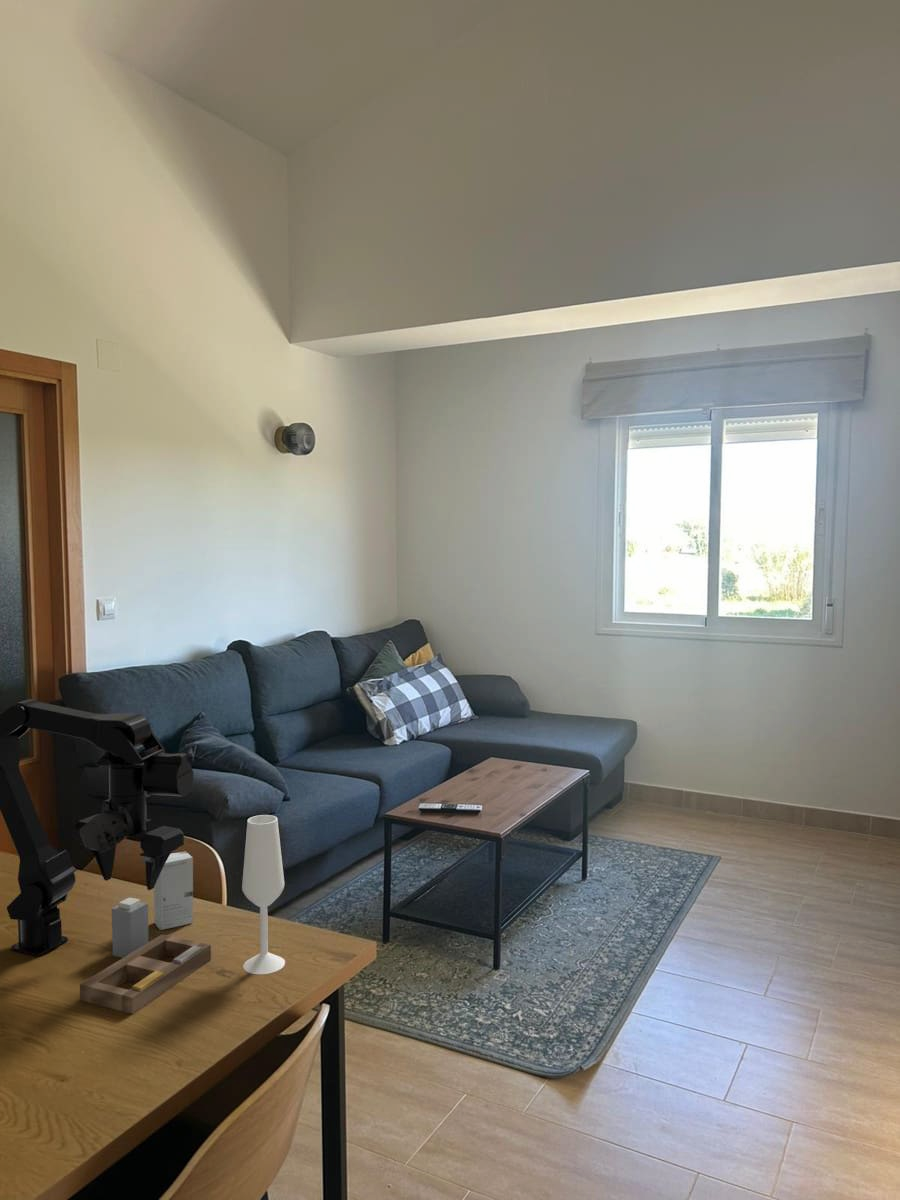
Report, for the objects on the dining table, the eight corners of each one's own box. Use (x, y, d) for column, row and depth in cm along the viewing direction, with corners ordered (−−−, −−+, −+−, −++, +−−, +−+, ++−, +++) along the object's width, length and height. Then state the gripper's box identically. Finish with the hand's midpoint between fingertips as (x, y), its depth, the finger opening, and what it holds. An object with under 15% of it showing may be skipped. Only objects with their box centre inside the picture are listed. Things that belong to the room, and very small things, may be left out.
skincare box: (160, 931, 154) (158, 864, 153) (153, 922, 158) (151, 856, 157) (194, 923, 158) (193, 857, 157) (187, 914, 161) (186, 849, 161)
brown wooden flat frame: (80, 1000, 131) (79, 981, 131) (162, 948, 148) (161, 932, 147) (132, 1014, 127) (132, 994, 127) (211, 959, 144) (210, 942, 144)
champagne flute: (293, 963, 143) (292, 818, 141) (260, 978, 138) (258, 829, 136) (267, 950, 147) (265, 810, 145) (234, 965, 142) (232, 820, 140)
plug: (112, 955, 145) (111, 903, 145) (129, 945, 149) (128, 894, 148) (131, 959, 144) (130, 907, 143) (148, 949, 147) (147, 898, 147)
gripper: (45, 797, 140) (47, 892, 141) (136, 813, 133) (137, 913, 134) (99, 780, 151) (100, 869, 152) (185, 794, 143) (186, 887, 144)
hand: (128, 884), depth 145 cm, fingers open, 9 cm apart
